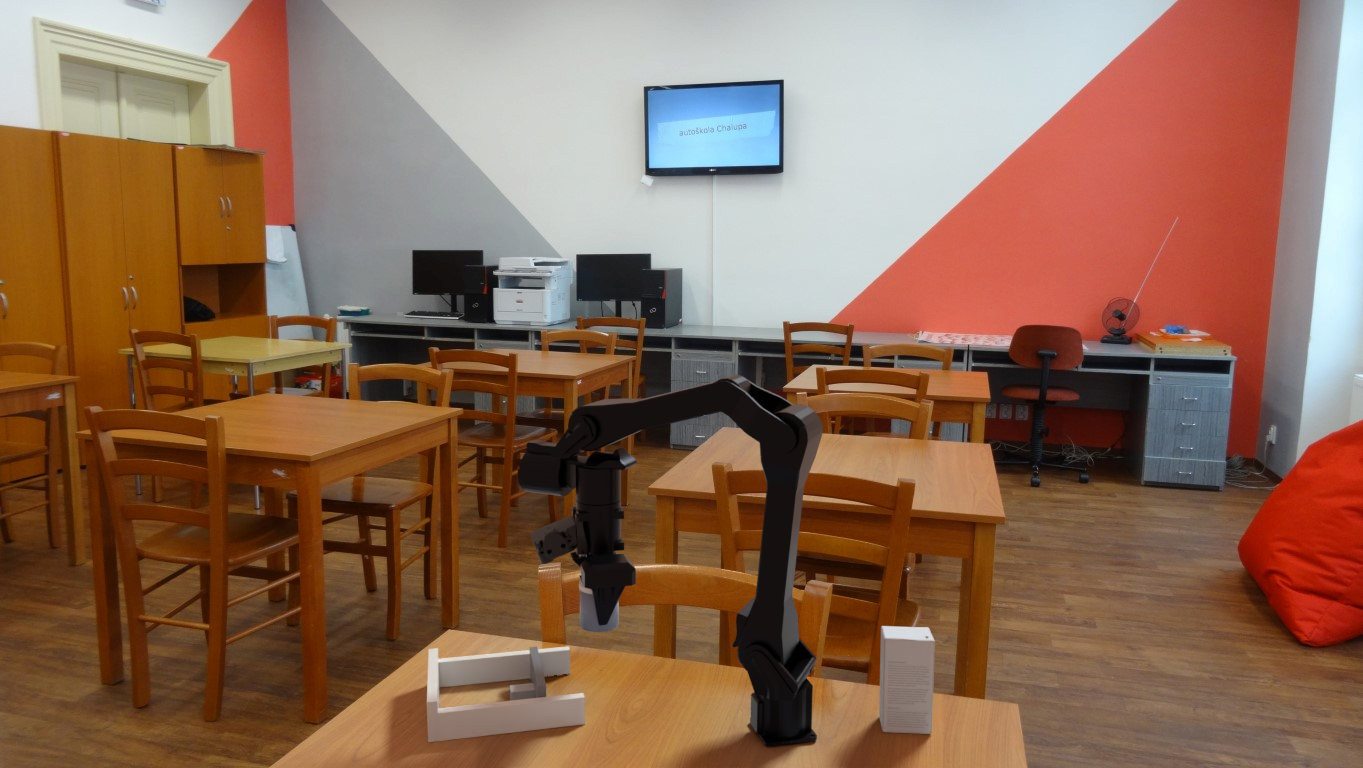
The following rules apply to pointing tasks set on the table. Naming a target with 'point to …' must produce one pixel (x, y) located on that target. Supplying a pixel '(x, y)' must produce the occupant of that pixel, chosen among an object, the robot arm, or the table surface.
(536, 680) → the pusher
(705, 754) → the table surface
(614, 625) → the jar
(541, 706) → the lane
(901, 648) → the skincare box
